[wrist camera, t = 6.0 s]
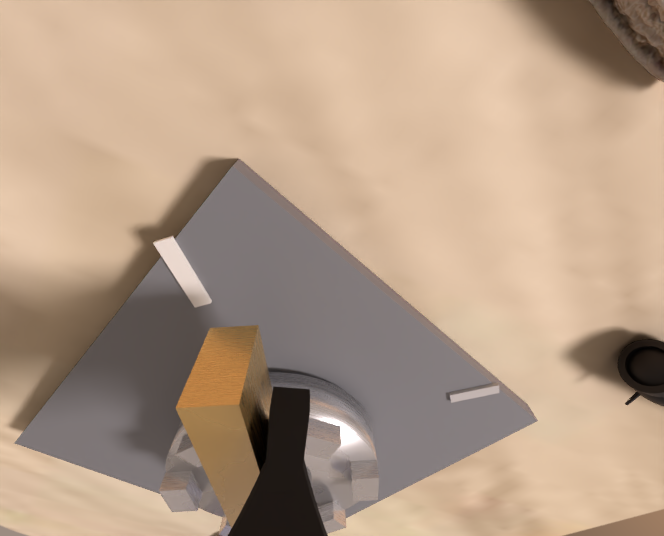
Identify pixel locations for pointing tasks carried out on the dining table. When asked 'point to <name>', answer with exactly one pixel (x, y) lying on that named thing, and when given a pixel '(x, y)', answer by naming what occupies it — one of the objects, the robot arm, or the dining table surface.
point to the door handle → (644, 369)
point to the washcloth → (637, 29)
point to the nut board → (272, 347)
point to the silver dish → (261, 434)
